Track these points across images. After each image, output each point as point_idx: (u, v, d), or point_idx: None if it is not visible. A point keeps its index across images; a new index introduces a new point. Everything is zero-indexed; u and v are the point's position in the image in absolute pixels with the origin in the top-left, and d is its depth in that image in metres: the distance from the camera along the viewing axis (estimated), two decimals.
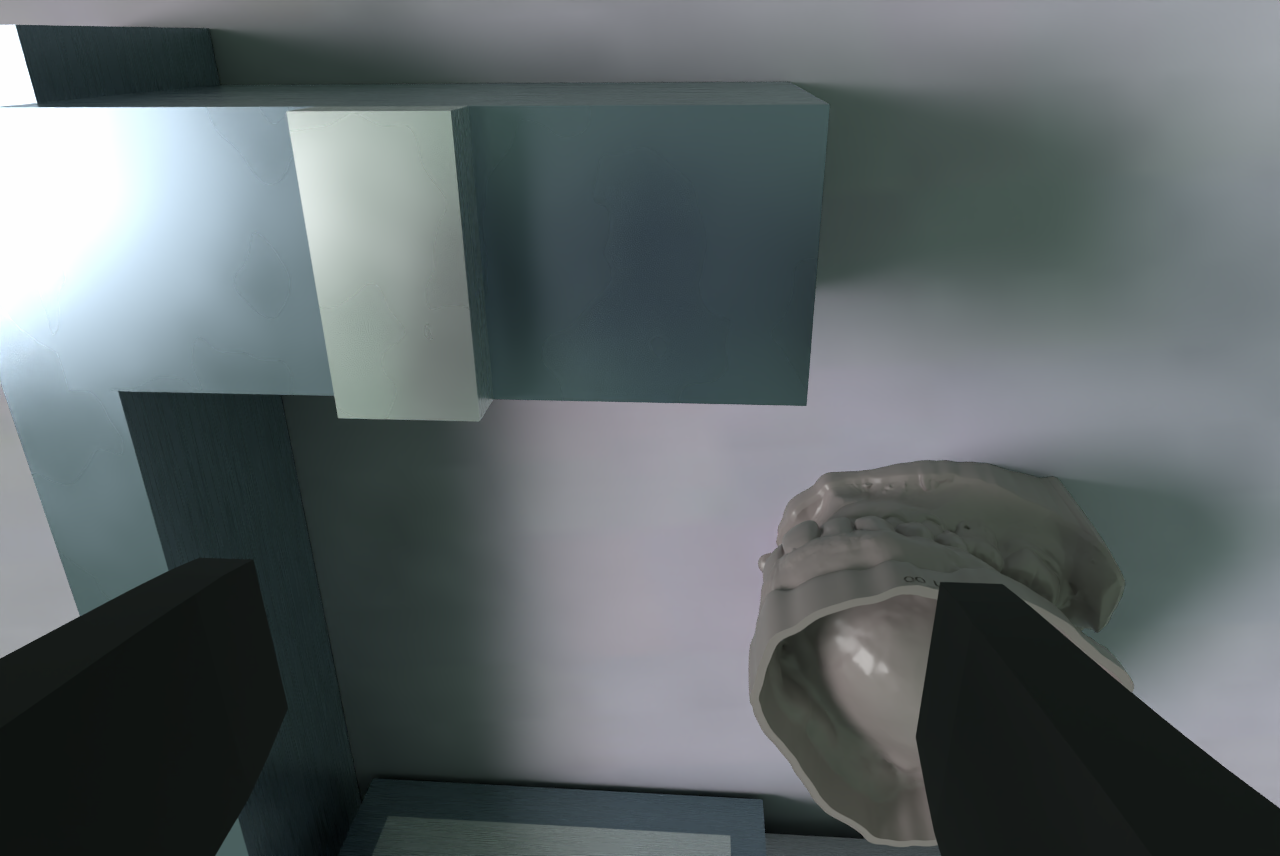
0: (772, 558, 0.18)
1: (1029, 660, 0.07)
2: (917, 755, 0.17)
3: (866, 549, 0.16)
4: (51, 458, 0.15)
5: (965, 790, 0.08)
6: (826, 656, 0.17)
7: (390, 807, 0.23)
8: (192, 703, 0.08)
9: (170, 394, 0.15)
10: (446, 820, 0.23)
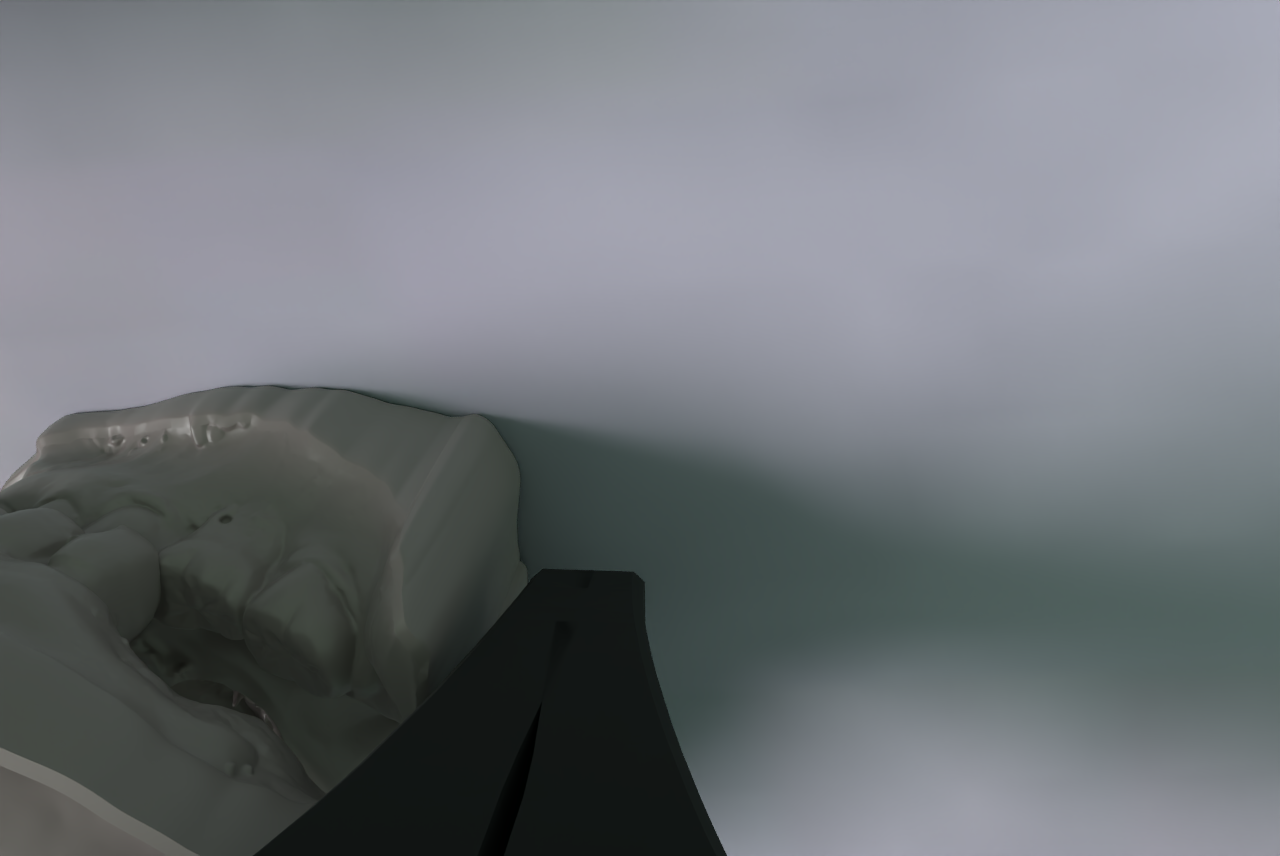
0: None
1: (578, 643, 0.07)
2: None
3: None
4: None
5: None
6: None
7: None
8: None
9: None
10: None
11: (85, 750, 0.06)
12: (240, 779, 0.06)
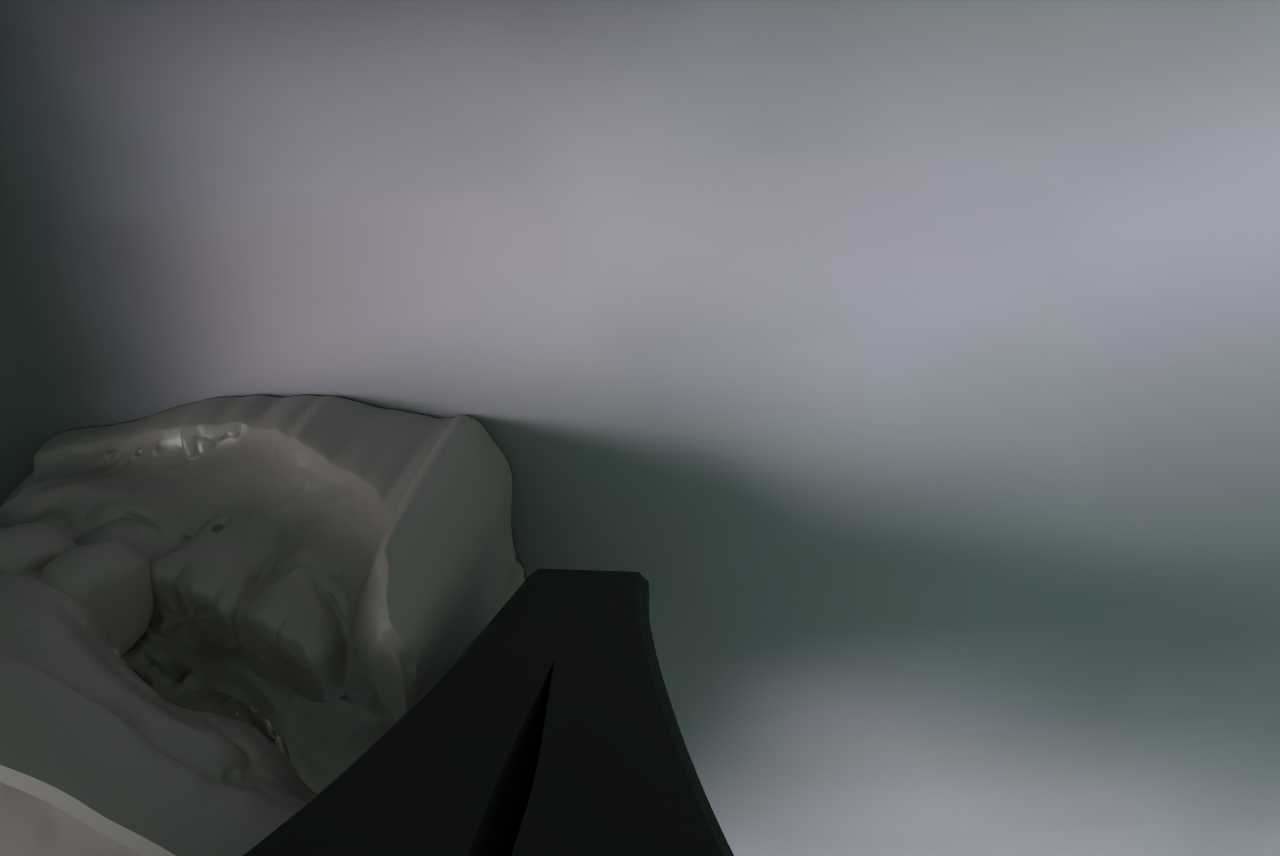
0: None
1: (582, 643, 0.07)
2: None
3: None
4: None
5: None
6: None
7: None
8: None
9: None
10: None
11: (70, 759, 0.06)
12: (229, 784, 0.06)
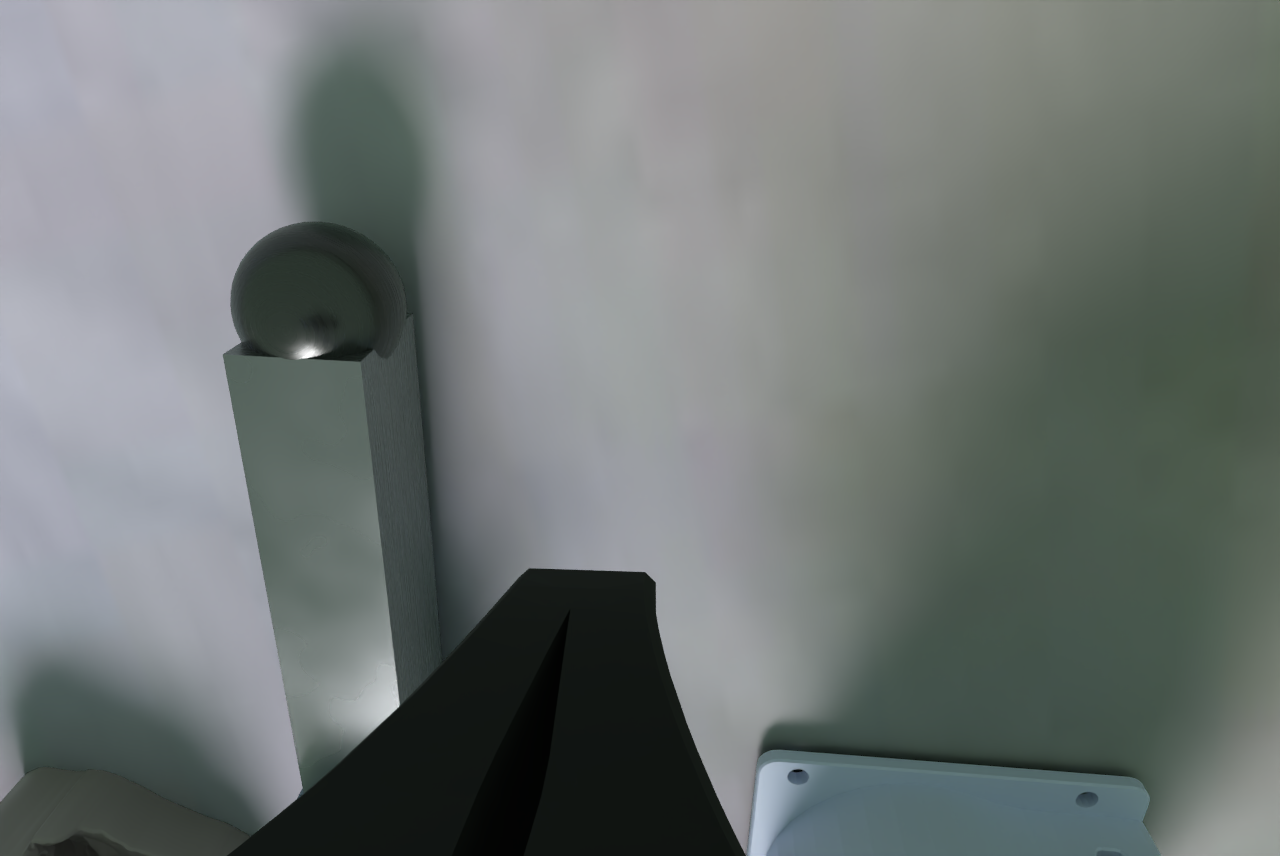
0: None
1: (591, 643, 0.07)
2: None
3: None
4: None
5: None
6: None
7: None
8: None
9: None
10: None
11: None
12: None
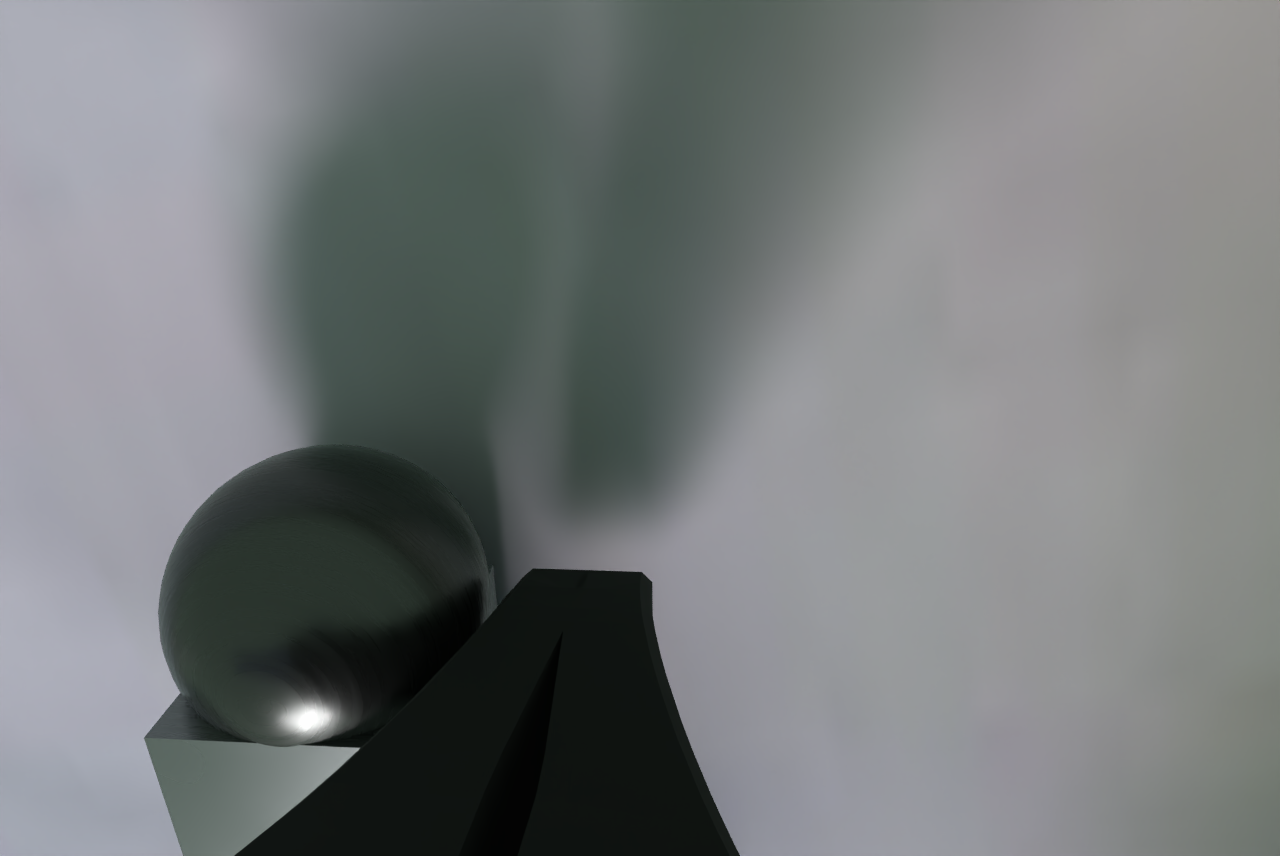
0: None
1: (587, 643, 0.07)
2: None
3: None
4: None
5: None
6: None
7: None
8: None
9: None
10: None
11: None
12: None
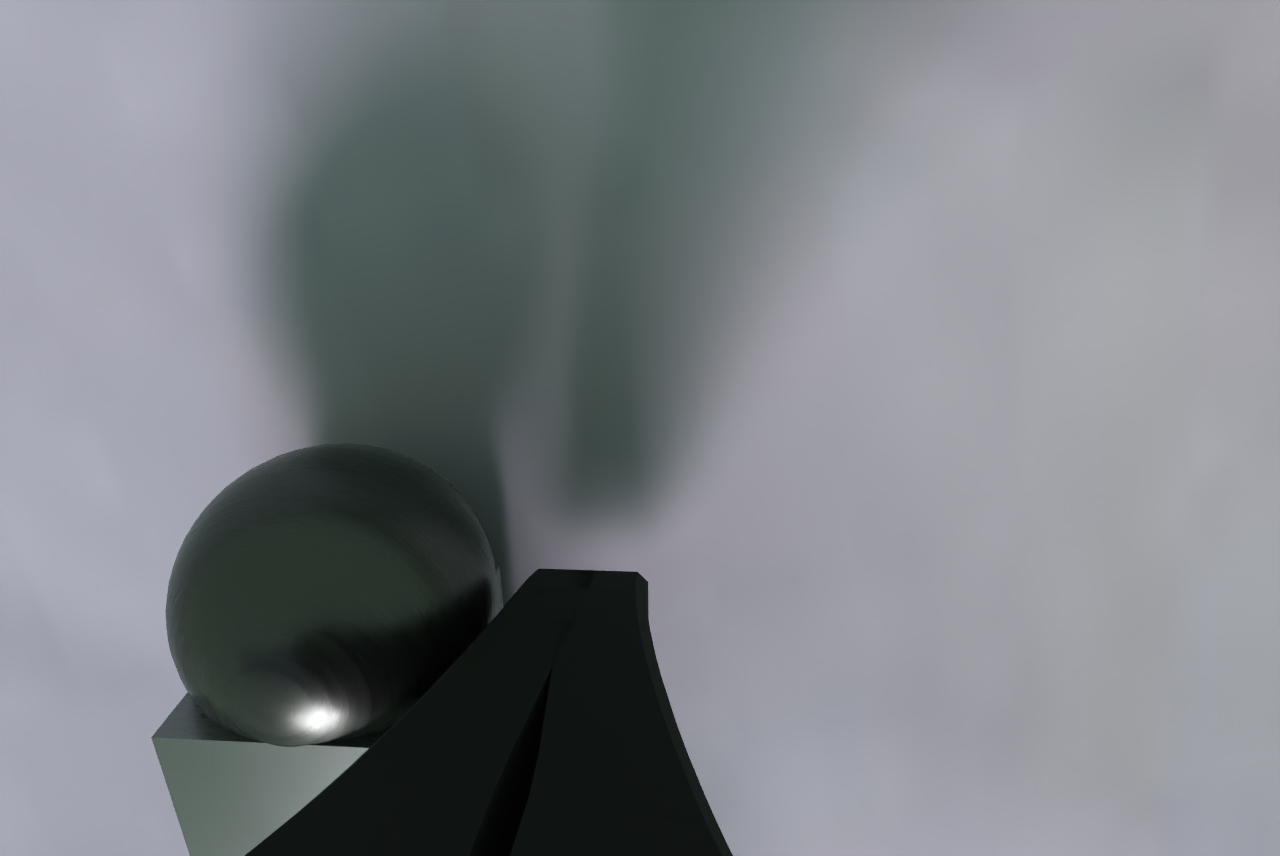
0: None
1: (582, 642, 0.07)
2: None
3: None
4: None
5: None
6: None
7: None
8: None
9: None
10: None
11: None
12: None
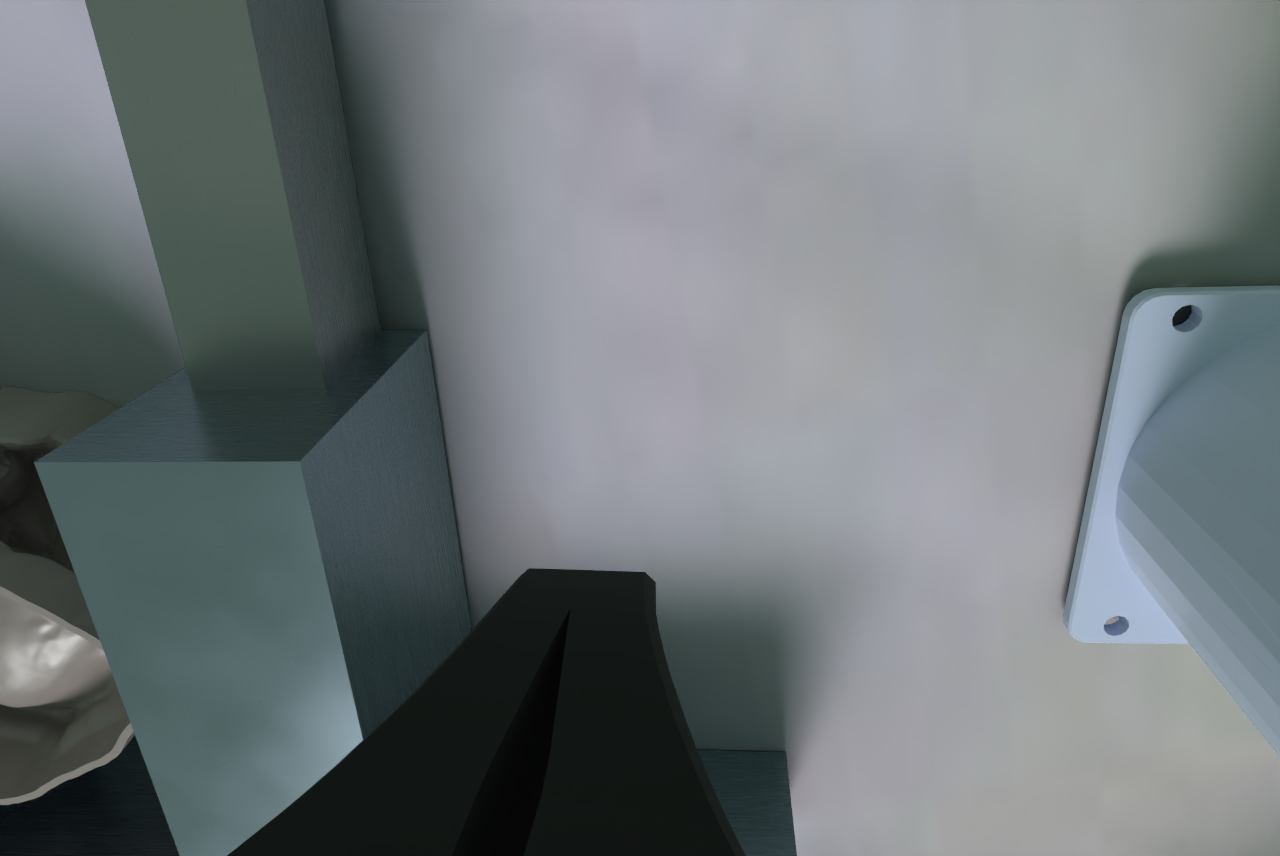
0: None
1: (591, 643, 0.07)
2: (74, 654, 0.17)
3: None
4: None
5: None
6: None
7: None
8: None
9: (15, 854, 0.20)
10: None
11: None
12: None
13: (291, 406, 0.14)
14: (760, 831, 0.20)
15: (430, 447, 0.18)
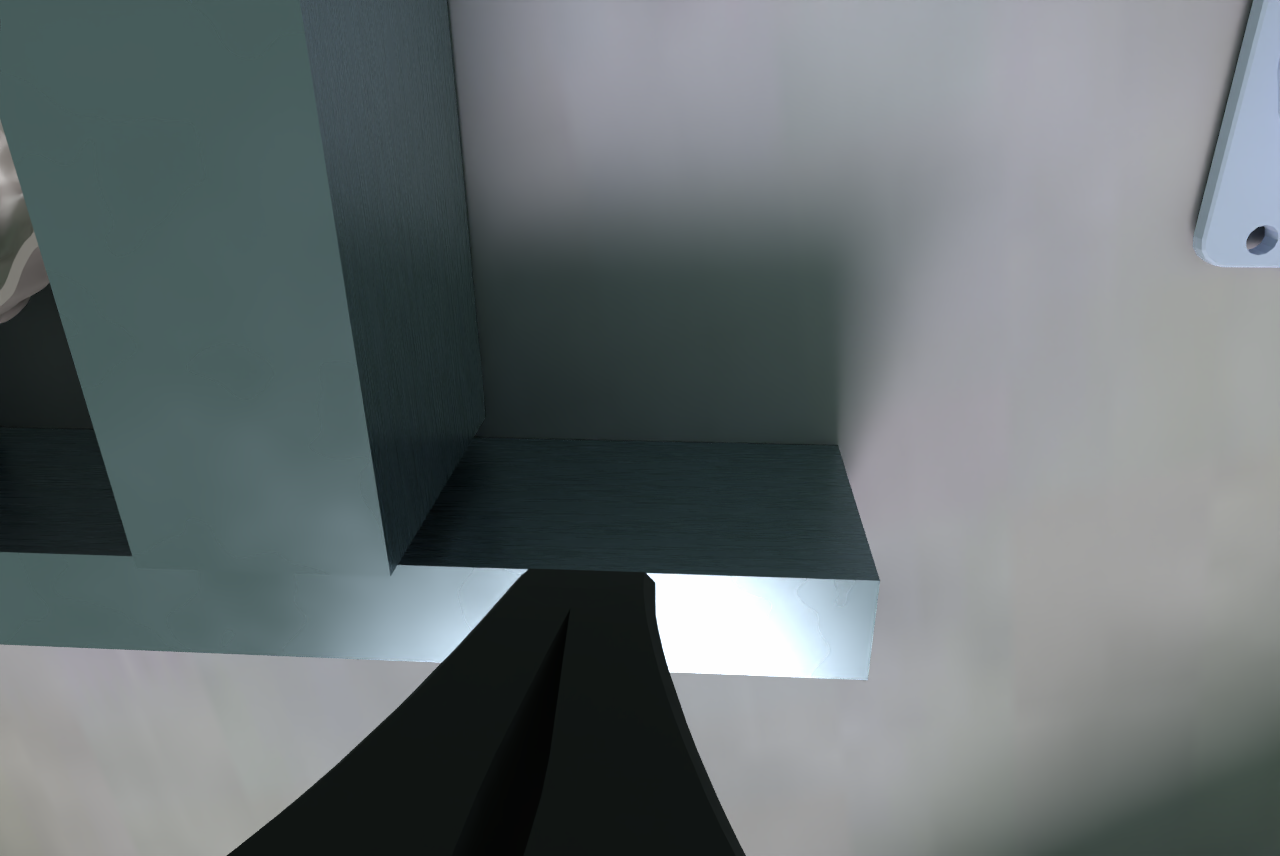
0: None
1: (591, 643, 0.07)
2: None
3: None
4: None
5: None
6: None
7: None
8: None
9: None
10: None
11: None
12: None
13: None
14: (813, 500, 0.16)
15: None
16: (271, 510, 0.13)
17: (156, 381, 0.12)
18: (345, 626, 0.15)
